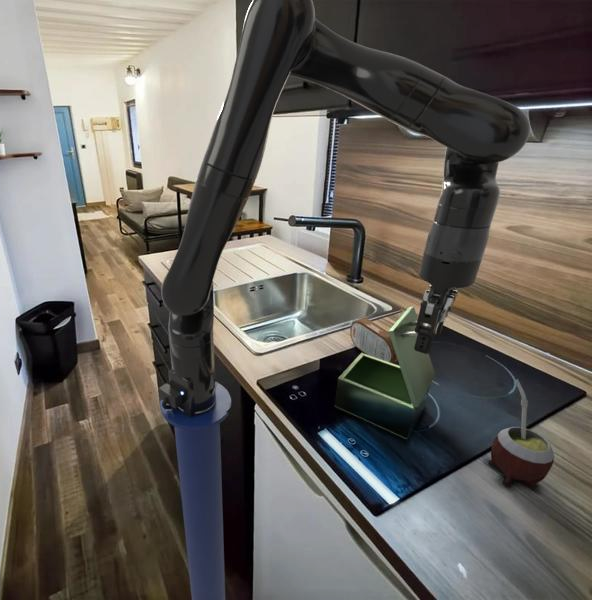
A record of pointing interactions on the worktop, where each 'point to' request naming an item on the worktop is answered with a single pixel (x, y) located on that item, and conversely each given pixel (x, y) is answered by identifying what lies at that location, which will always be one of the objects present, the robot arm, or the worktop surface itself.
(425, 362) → the lid
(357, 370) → the green box
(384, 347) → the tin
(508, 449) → the mate gourd
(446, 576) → the worktop surface
